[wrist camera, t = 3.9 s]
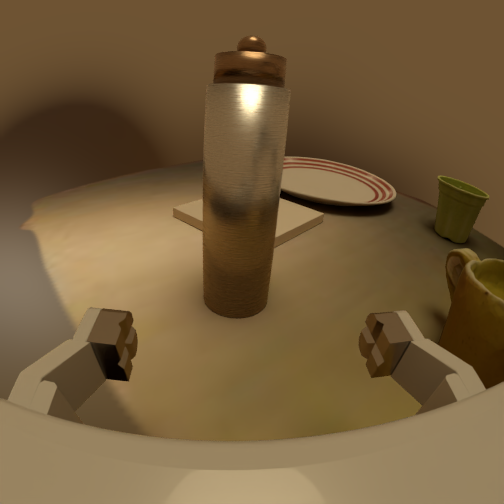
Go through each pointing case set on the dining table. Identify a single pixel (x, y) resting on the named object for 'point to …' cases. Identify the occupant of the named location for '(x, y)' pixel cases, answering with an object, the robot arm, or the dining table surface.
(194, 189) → the dining table surface
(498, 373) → the mug
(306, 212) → the serving tile
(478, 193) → the plant pot
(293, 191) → the dinner plate
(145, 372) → the dining table surface
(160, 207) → the dining table surface
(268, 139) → the pepper mill
